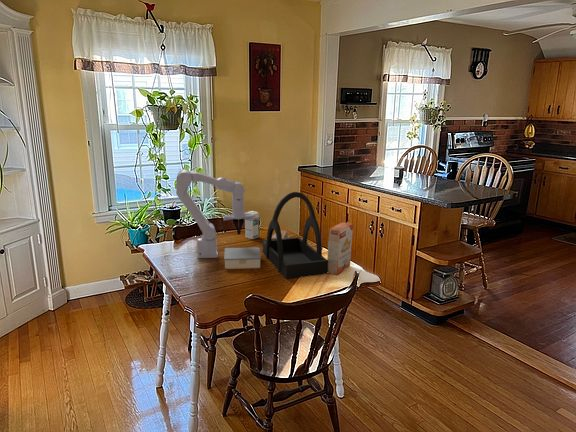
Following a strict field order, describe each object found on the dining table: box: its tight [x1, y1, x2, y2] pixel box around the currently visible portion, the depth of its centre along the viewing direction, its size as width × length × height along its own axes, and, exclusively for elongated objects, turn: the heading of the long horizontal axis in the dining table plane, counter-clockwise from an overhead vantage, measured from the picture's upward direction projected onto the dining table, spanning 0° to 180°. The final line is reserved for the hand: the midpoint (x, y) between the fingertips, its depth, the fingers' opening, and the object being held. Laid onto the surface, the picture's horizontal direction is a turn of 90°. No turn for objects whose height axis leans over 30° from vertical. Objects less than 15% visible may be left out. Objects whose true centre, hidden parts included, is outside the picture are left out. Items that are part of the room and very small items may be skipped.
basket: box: [262, 191, 328, 280], centre depth 202 cm, size 35×21×35 cm, turn 20°
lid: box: [223, 247, 262, 261], centre depth 203 cm, size 17×15×1 cm
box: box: [224, 259, 261, 270], centre depth 204 cm, size 16×14×4 cm
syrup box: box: [244, 210, 260, 240], centre depth 241 cm, size 6×6×14 cm
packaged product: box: [271, 229, 291, 240], centre depth 236 cm, size 18×5×10 cm
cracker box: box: [326, 221, 354, 276], centre depth 197 cm, size 14×6×21 cm, turn 148°
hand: (239, 233), depth 214 cm, fingers closed
